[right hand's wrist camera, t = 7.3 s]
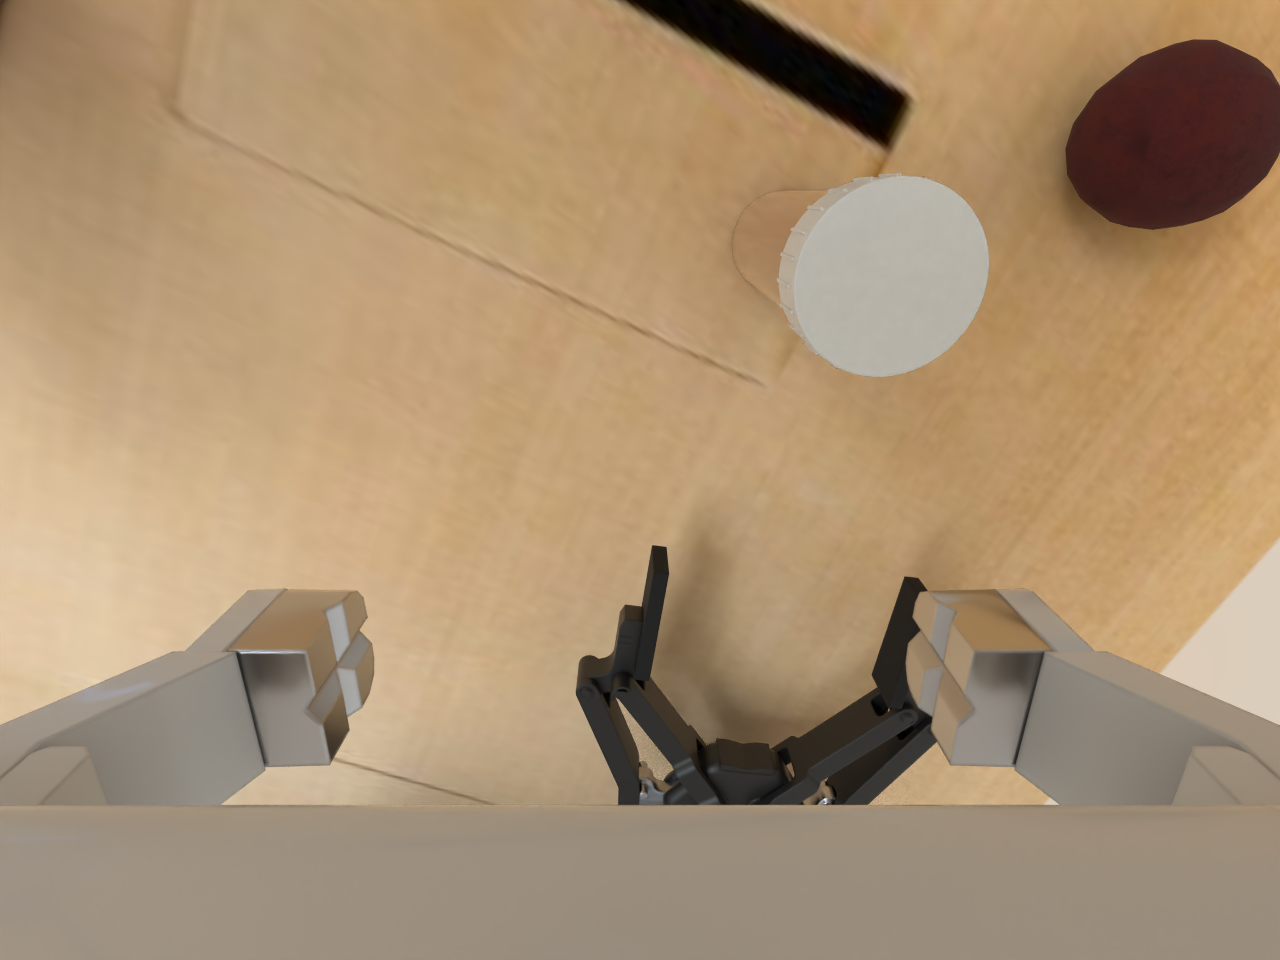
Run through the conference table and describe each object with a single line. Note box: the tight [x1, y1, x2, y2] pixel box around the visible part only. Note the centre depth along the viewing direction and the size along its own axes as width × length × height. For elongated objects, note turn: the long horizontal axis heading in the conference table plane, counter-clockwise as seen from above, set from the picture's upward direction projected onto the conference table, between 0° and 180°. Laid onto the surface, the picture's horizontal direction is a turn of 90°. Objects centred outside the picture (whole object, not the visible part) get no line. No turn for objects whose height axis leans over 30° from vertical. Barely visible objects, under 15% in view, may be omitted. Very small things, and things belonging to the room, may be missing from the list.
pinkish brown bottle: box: [732, 191, 829, 309], centre depth 28 cm, size 5×5×16 cm
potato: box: [1066, 40, 1280, 230], centre depth 30 cm, size 7×8×7 cm
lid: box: [777, 173, 989, 377], centre depth 21 cm, size 6×6×2 cm
